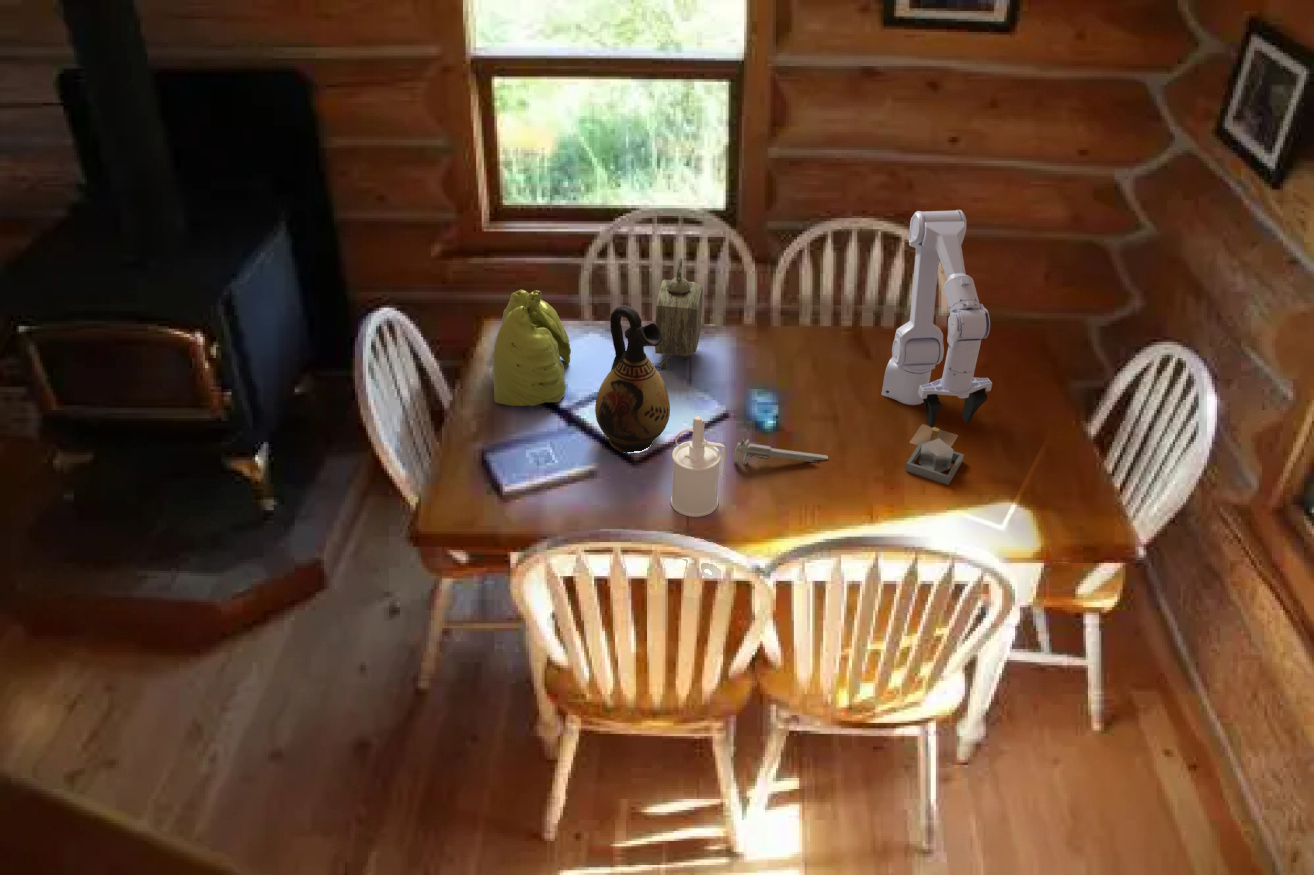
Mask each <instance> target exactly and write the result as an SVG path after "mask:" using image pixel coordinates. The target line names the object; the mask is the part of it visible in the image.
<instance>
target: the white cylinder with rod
mask: <svg viewBox="0 0 1314 875" xmlns="http://www.w3.org/2000/svg"><path fill="white" fill-rule="evenodd" d="M686 432H692V440H689V441H684V442H682V443H680V444H679V443H678V439H679V437H680V436H681V435H682V434H685V433H686ZM674 443H675V445H676V447H674V449H673V450H672V452H671V459H672V463H673V464H672V489H671V491H672V492H671V496H670V504H671V507H672V508H673V509H674V510H675V511H676V512H677V513H679V514H681V515H683V516H686V517H690V518H691V517H692V518H700V517H705V516H708V515H710V514H712V513H713V512H715V511H716V509H717V508H718V506H719V498H718V490H719V489H718V488H719V475H720V477H721V478H722V479H724V478H725V468H726V467H725V466H726V464H725V463H726V450H727V449H726V446H725V445H724V444H723V443H721V442H712V441H708V440H706V439H705V420H704V419H703V418H701V417H700V416H699V415H696V416H695V417H694V418H693V419H692V428H686V429H684V430H682V431H681V432H679V433H677V435H676V436H675V440H674ZM718 448H721V451H720V450H719V449H718Z"/></svg>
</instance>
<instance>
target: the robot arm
mask: <svg viewBox="0 0 1314 875" xmlns="http://www.w3.org/2000/svg"><path fill="white" fill-rule="evenodd" d="M966 217H967V216H966V215H965V213H964V212H963V210H962V209H956V210H936V211H935V210H932V211H929V210H928V211H920V210H917V211H915V212H914V214H913V215H912V217H911V218H910V223H909V233H908V242H909V243H908V246H909V247H912V248H915V256H914V267H913V268H914V269H913V281H912V293H911V304H910V314H909V315H910V316H909V321H907V322H906V323H904V324H902V325H901V326H900V327H898V328H896V330H895V331H896V332H895V333H894V334H895V335H894V340H893V343H892V347H891V348H892V349H891V352H892V353H891V354H892V355H891V356H892V357H890V359H889V361H888V363H887V365H886V368H885V372H884V376H883V383H882V389H881V396H883V397H886V398H889V399H892V400H896V401H898V402H899V403H901V404H903V405H910V406H916V405H921V404H924V407H925V414H926V415H925V416H926V423H927V426H930V427H936V426H935V425H936V421H937V417H938V413H939V411H940V409H941V407H942V406H943V405H942V403H941V401H940V398H939V396H942V395H943V396H952V397H954V396H955V397H958V398H959V399H964V403H963V407H962V412H961V418H962V420H963V421H964V422H965V423H966V424H969V423H970V422H971V420H972V419H973V417H974V415H975V414H976V412H977V411H978V409H980V407H981V406H982V405H983V404H984V403H986V402H987V400H988V394H987V393H986V392H991V390H992V387H993V382H992V381H991V380H990V379H989V377H974V374H975V370H976V365H977V361H978V357H979V352H980V347H981V343H982V339H987V338H988V336H989V335H990V330H991V320H990V313H989V311H988V309H987V308H986V307H985V306H984V304H983V303H980V300H979V297H978V292H977V288H976V286H975V281H974V279H973V277H971V276H970V275H967V274H966V269H965V268H966V267H965V262H964V261H965V260H964V256H963V248H962V244H963V241H964V238H965V236H966V232H967V218H966ZM940 263H941V267H942V269H943V272H944V274H945V277H946V281H945V283H944V284H943V291H944V292H943V293H944V296H945V299H946V300H945V301H946V304H947V307H948V308H947V309H948V312H949V316H948V321H947V337H946V339H947V344H948V346H947V351H946V357H945V362H944V367H943V372H942V377H941V378H939V379H936V380H934V381H931V374H932V370H935V369H936V365H940V363H941V362H942V361H943V359H944V354H945V348H944V347H945V345H944V334H943V332H942V330H941V328H940V327H939V326H937V325H936V324H934V316H935V306H936V296H937V287H938V286H937V284H938V275H939V274H938V272H939V266H940ZM930 381H931V382H930Z"/></svg>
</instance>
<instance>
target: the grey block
mask: <svg viewBox="0 0 1314 875" xmlns="http://www.w3.org/2000/svg"><path fill="white" fill-rule="evenodd" d="M953 451H954V448H952V447H950V446H949V445H947V444H946V443H945V442H943V441H942V440H941V439H940V438H938V439H935V440H933V441H930V442H927V443H924V444H922V448H921V453H920V455H919V457H918V458H919V459H918V465H919V466H922V467H925V468H928V469H931V470H934V471H938V472H941V473H944V472H945V471H948V470H951V465H952V456H953Z"/></svg>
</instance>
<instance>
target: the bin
mask: <svg viewBox="0 0 1314 875" xmlns="http://www.w3.org/2000/svg"><path fill="white" fill-rule="evenodd" d="M924 443H927V442H924V441H921V442H920V443H919V445H918V446H917V445H916V448H915V450H914V451H913V452H912V454H911V456H910V457H909V458H908V459H907V461H906V463H905V468H904V471H905V472H908V473H911V474H913V475H916V476H919V477H923V478H926V479H929V480H932V481H935V482H937V483H940V484H944V485H946V486H947V485H948V486H949V484H950V483H951V481H952V479H954V476H955V475H956V473H957V472H958V469H959V468H960V466H961V465H962V462H963V460H964V456H965V454H964V453H961V452H957V451H953V456H952V460H951V462H952V461H953V462H954V464H953V465H952V467H950V469H949V472H948V474H946V473H944V472H938V471H934V470H931V469H928V468H925V467H922V466H921V465H920V464H916V463H915V462H916V461H917V459H918V458H919V457H920V453H921V448H922V444H924Z"/></svg>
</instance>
